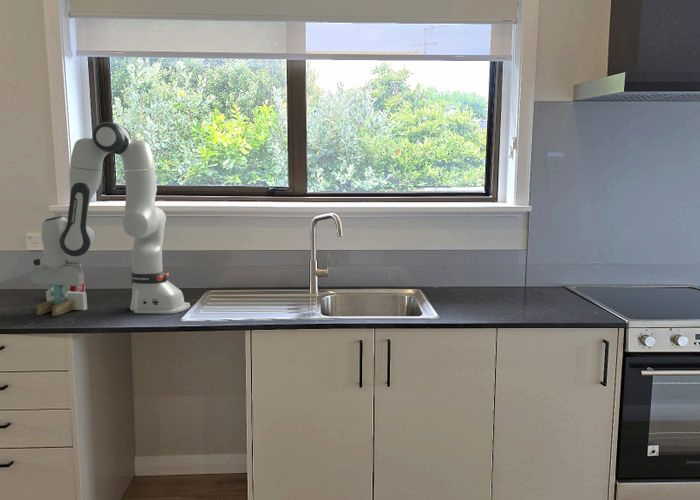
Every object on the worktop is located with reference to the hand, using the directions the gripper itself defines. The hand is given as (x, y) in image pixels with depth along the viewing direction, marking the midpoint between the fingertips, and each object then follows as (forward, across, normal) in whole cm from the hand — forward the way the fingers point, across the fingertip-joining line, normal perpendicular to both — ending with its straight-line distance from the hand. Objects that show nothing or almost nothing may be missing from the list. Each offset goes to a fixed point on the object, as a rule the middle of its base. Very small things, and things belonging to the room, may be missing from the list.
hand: (59, 296), depth 231 cm
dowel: (+5, 0, 0) cm, 5 cm away
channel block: (+6, 0, +3) cm, 6 cm away
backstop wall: (+6, 0, -4) cm, 7 cm away
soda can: (+6, +8, -20) cm, 23 cm away
